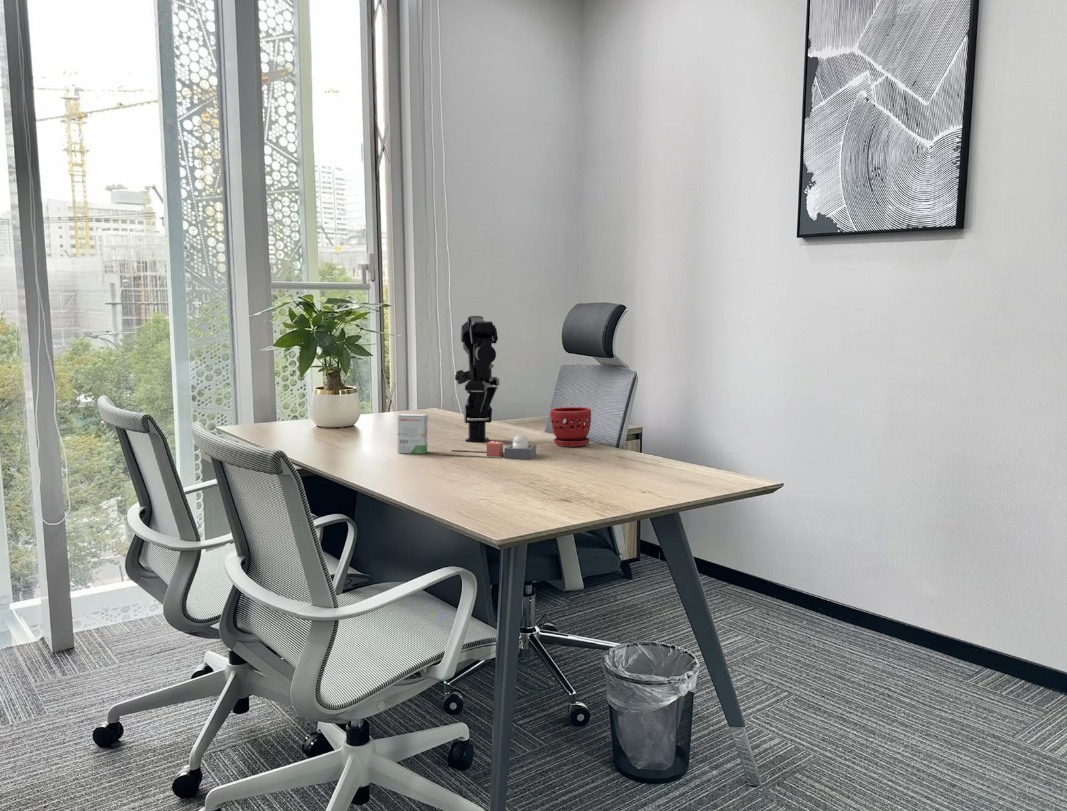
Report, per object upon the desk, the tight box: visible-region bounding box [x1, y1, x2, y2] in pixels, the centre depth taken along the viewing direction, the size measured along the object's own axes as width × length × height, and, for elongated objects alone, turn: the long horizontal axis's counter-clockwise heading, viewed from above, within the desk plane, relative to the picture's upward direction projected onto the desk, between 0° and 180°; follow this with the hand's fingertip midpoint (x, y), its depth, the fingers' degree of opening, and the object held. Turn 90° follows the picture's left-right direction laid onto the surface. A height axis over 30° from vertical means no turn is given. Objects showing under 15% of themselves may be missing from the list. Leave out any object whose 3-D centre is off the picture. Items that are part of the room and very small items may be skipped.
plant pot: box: [550, 406, 592, 448], centre depth 281 cm, size 13×13×12 cm
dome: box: [512, 433, 530, 449], centre depth 260 cm, size 5×5×6 cm
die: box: [486, 440, 504, 457], centre depth 262 cm, size 4×4×4 cm
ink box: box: [397, 413, 429, 455], centre depth 266 cm, size 9×5×12 cm, turn 84°
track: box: [443, 449, 504, 459], centre depth 263 cm, size 9×18×1 cm, turn 77°
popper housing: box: [503, 443, 537, 460], centre depth 260 cm, size 8×8×3 cm
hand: (482, 410), depth 273 cm, fingers open, 9 cm apart
